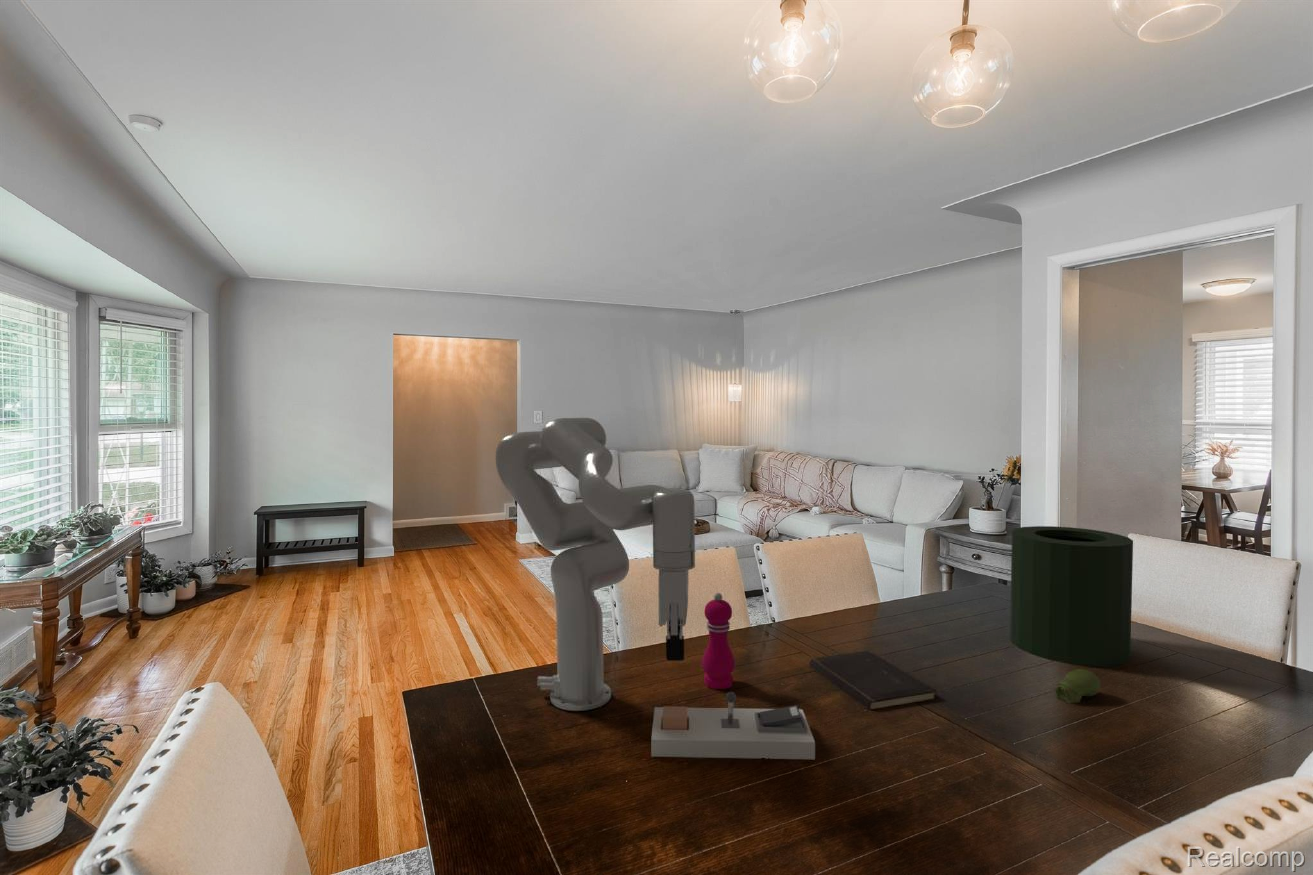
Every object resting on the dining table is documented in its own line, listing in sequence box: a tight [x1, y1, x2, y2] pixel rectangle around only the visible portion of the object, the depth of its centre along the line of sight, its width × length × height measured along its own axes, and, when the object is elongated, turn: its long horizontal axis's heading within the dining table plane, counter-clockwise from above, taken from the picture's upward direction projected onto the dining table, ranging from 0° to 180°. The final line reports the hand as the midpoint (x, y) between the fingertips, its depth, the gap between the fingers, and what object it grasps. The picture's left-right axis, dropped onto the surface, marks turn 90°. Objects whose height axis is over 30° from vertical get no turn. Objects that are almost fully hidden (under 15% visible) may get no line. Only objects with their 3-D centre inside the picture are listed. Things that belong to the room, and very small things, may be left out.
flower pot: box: [1009, 525, 1134, 668], centre depth 159 cm, size 25×25×28 cm
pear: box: [1055, 668, 1101, 704], centre depth 132 cm, size 6×5×10 cm
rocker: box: [759, 704, 802, 727], centre depth 115 cm, size 7×4×1 cm, turn 87°
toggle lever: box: [725, 691, 737, 724], centre depth 114 cm, size 2×2×7 cm
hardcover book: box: [809, 650, 937, 711], centre depth 140 cm, size 16×23×2 cm
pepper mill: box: [701, 592, 736, 690], centre depth 139 cm, size 7×7×20 cm
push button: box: [662, 705, 688, 730], centre depth 116 cm, size 4×4×3 cm
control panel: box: [650, 706, 816, 760], centre depth 116 cm, size 28×12×4 cm, turn 87°
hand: (675, 658), depth 116 cm, fingers closed
